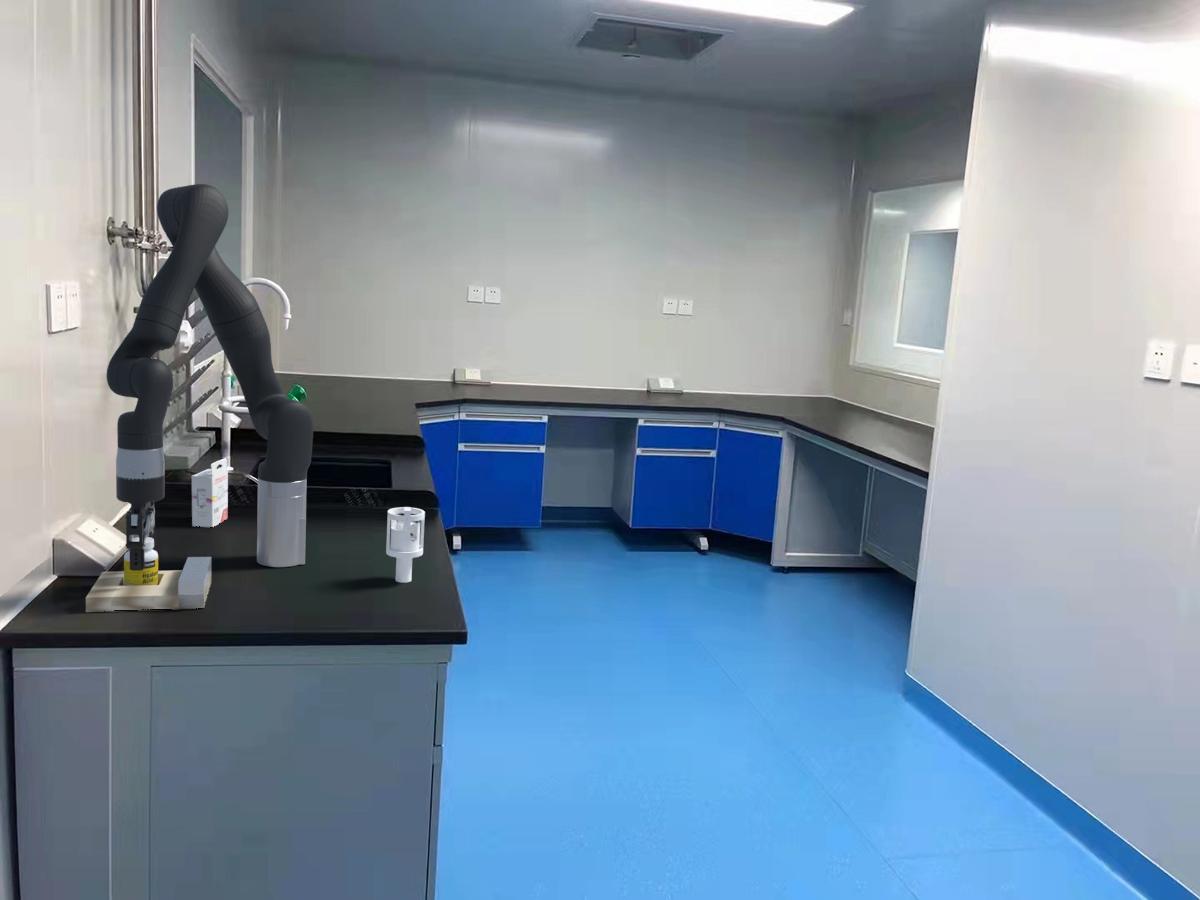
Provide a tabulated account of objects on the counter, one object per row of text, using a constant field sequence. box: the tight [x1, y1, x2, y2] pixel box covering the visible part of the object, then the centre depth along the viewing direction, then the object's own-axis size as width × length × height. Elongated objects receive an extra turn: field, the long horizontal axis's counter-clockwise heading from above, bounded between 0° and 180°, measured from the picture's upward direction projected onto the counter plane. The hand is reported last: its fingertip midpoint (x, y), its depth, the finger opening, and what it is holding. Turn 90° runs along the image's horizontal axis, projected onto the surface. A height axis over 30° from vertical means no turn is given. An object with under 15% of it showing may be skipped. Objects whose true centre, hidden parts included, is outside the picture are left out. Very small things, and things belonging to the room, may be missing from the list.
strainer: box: [385, 506, 426, 584], centre depth 181 cm, size 7×7×15 cm
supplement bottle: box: [123, 537, 159, 586], centre depth 163 cm, size 5×5×10 cm
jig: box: [85, 556, 212, 613], centre depth 162 cm, size 18×14×5 cm
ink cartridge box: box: [191, 457, 229, 528], centre depth 211 cm, size 9×5×15 cm, turn 179°
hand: (141, 562), depth 163 cm, fingers open, 8 cm apart
